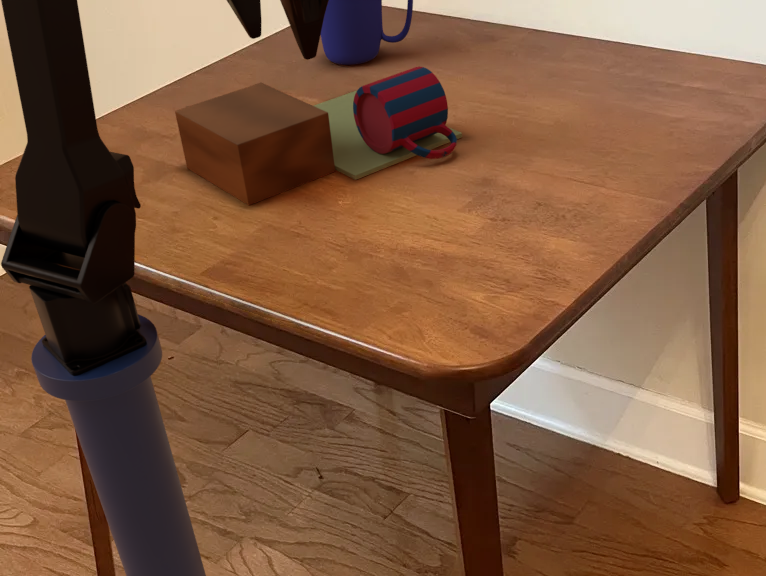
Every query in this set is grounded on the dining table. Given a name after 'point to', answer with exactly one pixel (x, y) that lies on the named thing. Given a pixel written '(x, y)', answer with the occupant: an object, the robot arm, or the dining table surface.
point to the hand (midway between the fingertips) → (282, 47)
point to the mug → (356, 30)
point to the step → (256, 142)
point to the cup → (403, 113)
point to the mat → (352, 149)
